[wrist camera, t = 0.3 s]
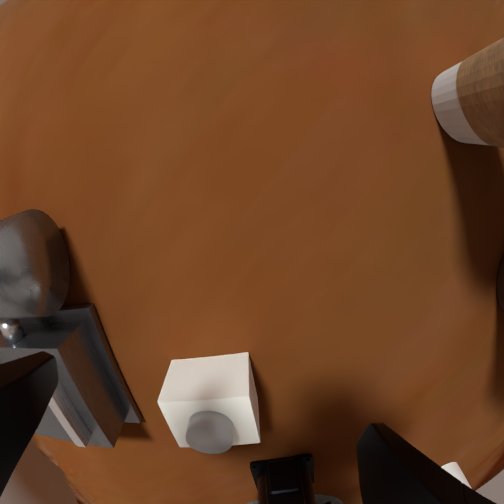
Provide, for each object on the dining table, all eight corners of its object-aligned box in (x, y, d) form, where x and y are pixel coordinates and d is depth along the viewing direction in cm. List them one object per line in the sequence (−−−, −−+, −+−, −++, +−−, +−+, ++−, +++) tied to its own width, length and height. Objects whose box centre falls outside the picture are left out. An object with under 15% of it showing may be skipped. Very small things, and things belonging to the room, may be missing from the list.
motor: (142, 417, 24) (122, 473, 17) (39, 407, 24) (12, 446, 17) (66, 199, 18) (2, 216, 12) (-32, 235, 19) (-82, 255, 12)
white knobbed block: (257, 398, 23) (261, 458, 17) (188, 404, 23) (176, 461, 17) (248, 351, 22) (249, 412, 15) (172, 359, 22) (152, 417, 16)
